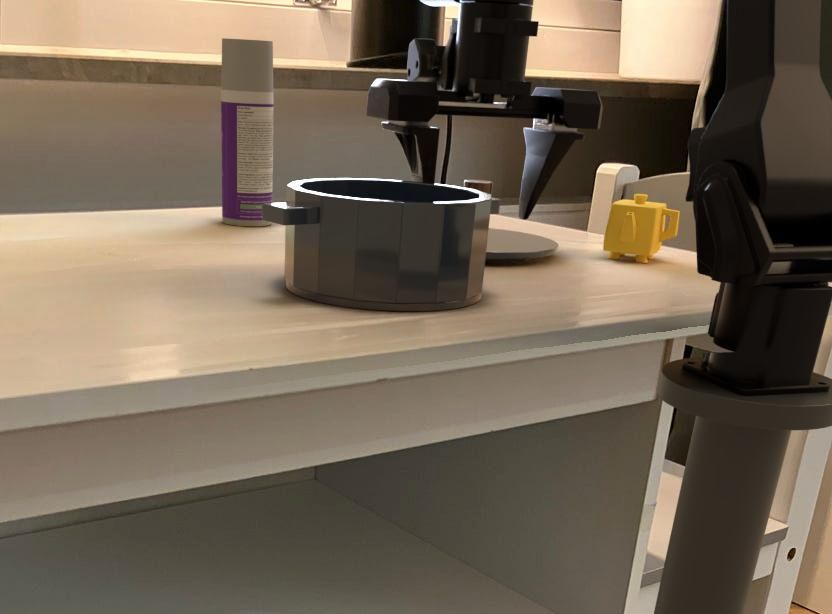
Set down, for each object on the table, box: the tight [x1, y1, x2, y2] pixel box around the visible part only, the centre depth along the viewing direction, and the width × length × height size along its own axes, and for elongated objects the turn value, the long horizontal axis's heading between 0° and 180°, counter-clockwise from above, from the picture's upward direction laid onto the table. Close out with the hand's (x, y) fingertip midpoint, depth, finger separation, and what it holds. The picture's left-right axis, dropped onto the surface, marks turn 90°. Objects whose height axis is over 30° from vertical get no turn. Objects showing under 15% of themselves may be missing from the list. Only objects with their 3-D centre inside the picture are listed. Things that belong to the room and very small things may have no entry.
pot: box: [262, 177, 501, 312], centre depth 72 cm, size 14×19×6 cm
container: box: [220, 37, 275, 227], centre depth 95 cm, size 5×5×15 cm
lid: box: [463, 179, 559, 264], centre depth 89 cm, size 15×15×6 cm
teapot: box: [602, 193, 681, 264], centre depth 90 cm, size 8×6×5 cm
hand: (474, 218), depth 90 cm, fingers open, 9 cm apart
